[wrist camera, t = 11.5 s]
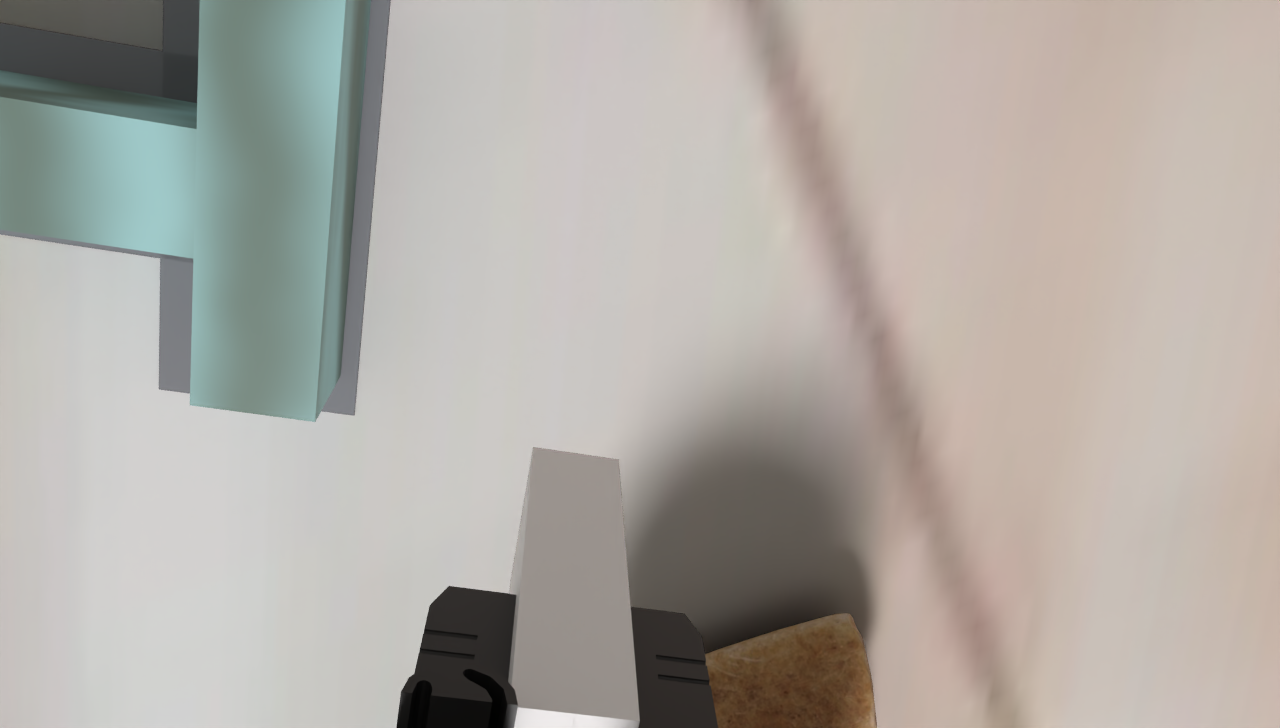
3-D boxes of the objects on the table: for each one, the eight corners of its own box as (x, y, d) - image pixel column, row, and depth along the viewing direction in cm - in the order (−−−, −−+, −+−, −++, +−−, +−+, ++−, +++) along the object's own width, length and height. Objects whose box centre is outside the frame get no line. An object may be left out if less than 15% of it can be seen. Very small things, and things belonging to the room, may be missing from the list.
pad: (396, -72, 32) (396, -73, 32) (354, 414, 38) (353, 415, 38) (-186, -184, 30) (-189, -184, 30) (-134, 348, 36) (-136, 349, 36)
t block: (372, -27, 33) (347, -24, 29) (340, 375, 38) (315, 422, 34) (-97, -114, 31) (-188, -123, 27) (-66, 318, 36) (-140, 360, 32)
